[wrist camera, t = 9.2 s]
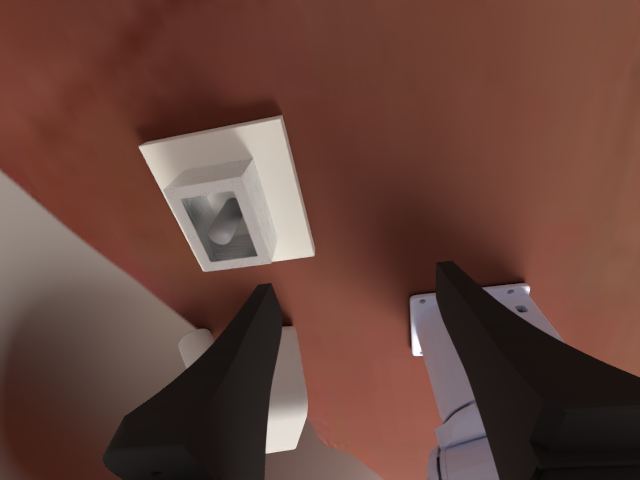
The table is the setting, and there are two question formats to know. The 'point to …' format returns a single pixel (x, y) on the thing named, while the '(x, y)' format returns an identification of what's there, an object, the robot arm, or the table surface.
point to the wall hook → (285, 389)
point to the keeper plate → (227, 146)
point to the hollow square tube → (198, 216)
